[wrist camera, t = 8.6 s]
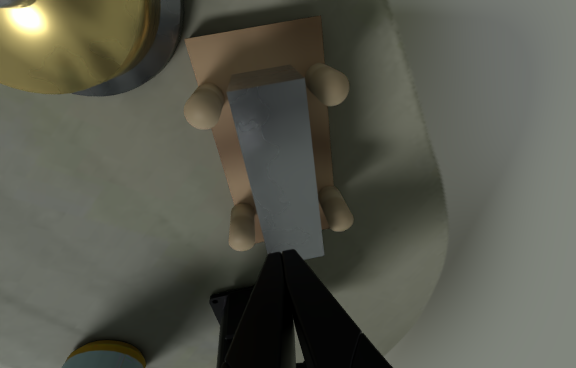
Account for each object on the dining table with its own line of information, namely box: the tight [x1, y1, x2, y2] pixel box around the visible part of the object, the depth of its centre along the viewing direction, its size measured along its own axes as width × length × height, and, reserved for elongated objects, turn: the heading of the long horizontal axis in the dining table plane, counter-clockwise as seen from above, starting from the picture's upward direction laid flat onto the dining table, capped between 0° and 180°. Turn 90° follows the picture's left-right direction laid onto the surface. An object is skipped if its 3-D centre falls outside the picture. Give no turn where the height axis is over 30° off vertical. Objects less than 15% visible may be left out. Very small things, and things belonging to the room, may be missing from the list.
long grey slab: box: [226, 65, 324, 260], centre depth 16 cm, size 10×3×4 cm, turn 8°
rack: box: [184, 16, 354, 251], centre depth 17 cm, size 14×8×4 cm, turn 8°
